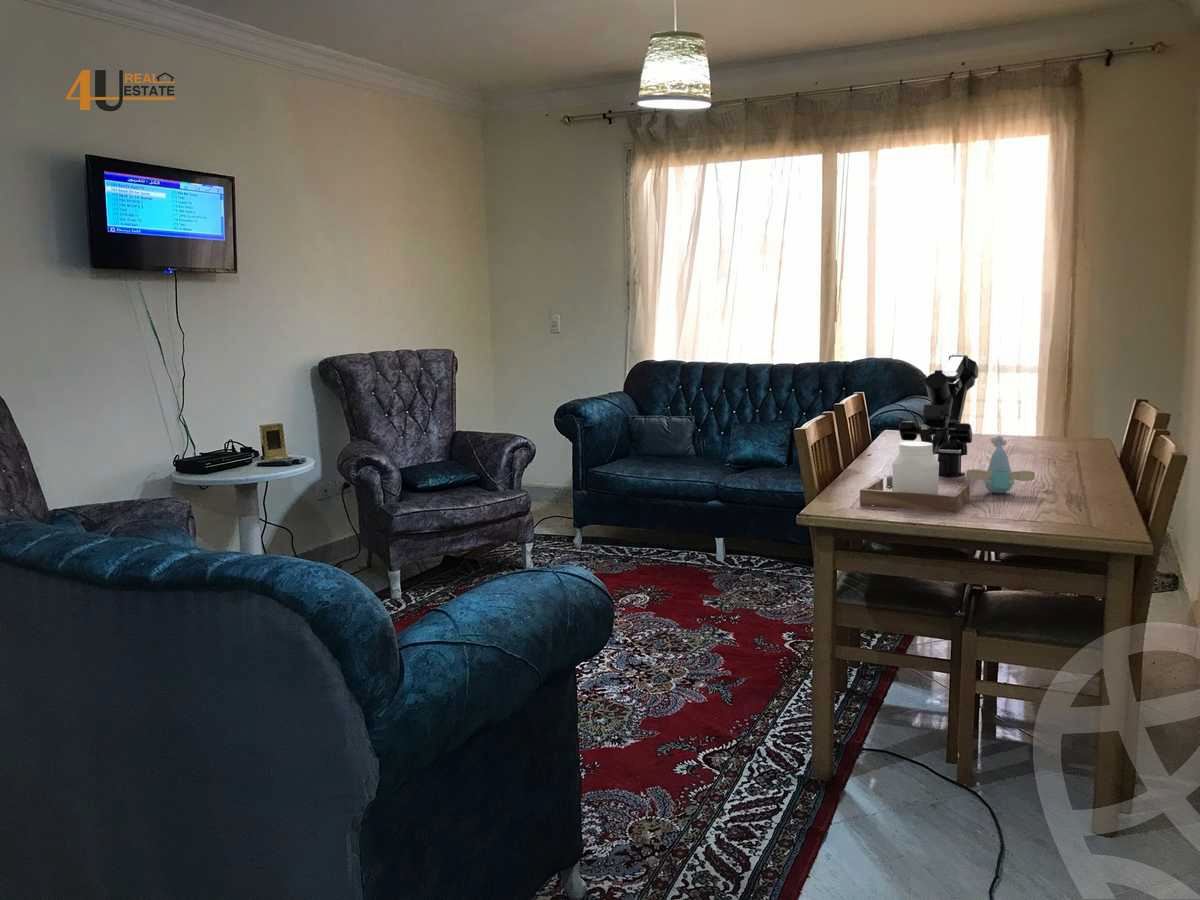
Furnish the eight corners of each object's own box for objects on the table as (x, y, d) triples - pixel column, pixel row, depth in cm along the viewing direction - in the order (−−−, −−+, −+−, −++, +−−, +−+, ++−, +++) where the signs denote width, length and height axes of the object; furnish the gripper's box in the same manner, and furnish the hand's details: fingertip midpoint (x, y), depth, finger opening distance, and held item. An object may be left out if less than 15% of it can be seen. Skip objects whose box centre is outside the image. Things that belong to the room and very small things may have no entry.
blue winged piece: (1030, 490, 254) (1032, 434, 252) (1034, 498, 244) (1036, 440, 242) (964, 488, 260) (965, 434, 257) (965, 495, 250) (966, 439, 247)
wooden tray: (878, 492, 258) (878, 478, 257) (969, 499, 245) (969, 483, 245) (859, 505, 243) (859, 489, 242) (955, 512, 230) (955, 496, 230)
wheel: (897, 483, 270) (897, 474, 269) (913, 486, 265) (913, 477, 264) (882, 485, 267) (882, 476, 267) (898, 488, 262) (898, 479, 261)
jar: (888, 502, 245) (888, 445, 242) (896, 495, 253) (897, 440, 251) (934, 506, 239) (935, 447, 237) (941, 498, 247) (942, 442, 245)
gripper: (900, 392, 263) (889, 437, 256) (971, 393, 253) (962, 440, 246) (907, 417, 271) (896, 461, 263) (976, 419, 261) (967, 465, 254)
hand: (929, 456), depth 256 cm, fingers closed
